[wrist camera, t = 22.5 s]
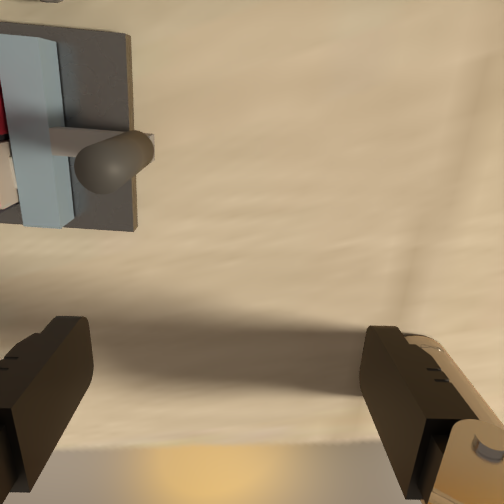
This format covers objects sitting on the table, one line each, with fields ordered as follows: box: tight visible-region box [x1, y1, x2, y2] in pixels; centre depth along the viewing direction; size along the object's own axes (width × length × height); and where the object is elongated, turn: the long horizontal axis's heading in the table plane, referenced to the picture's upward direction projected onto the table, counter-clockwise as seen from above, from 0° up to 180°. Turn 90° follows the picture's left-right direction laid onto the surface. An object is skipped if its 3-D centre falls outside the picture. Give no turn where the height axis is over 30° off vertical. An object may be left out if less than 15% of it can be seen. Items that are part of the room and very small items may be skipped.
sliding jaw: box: [0, 34, 155, 229], centre depth 27 cm, size 11×14×11 cm
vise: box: [0, 22, 138, 232], centre depth 31 cm, size 16×16×4 cm
